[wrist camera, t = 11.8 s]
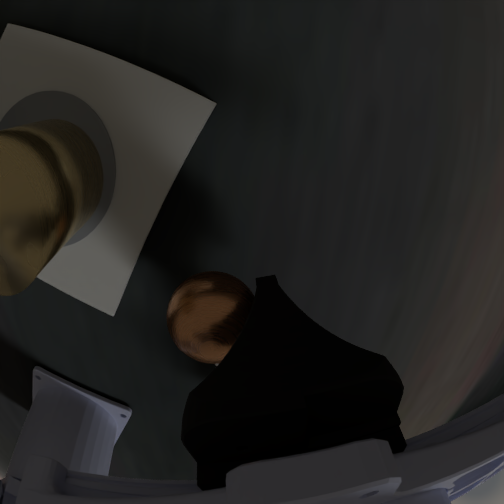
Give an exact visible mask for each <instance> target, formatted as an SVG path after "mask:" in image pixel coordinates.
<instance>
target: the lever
mask: <svg viewBox="0 0 504 504" xmlns="http://www.w3.org/2000/svg"><path fill="white" fill-rule="evenodd" d="M253 300H254V295H253V293H252V292H251V290H250V289H249V288H248V287H247V286H246V285H245V284H244V283H243V282H242V281H241V280H239V279H238V278H236V277H234V276H232V275H230V274H227V273H223V272H218V271H207V272H202V273H198V274H196V275H193V276H191V277H189V278H188V279H186V280H185V281H184V282H182V283H181V284H180V285H179V286H178V287H177V288H176V290H175V291H174V293H173V295H172V296H171V299H170V301H169V304H168V308H167V326H168V330H169V333H170V335H171V338H172V339H173V341H174V343H175V344H176V345H177V347H178V348H179V349H180V350H181V351H182V352H183V353H184V354H186V355H187V356H189V357H191V358H192V359H194V360H197V361H200V362H203V363H210V364H215V365H216V366H218V364H219V363H220V362H221V361H222V360H223V358H224V357H225V356H226V354H227V353H228V351H229V350H230V348H231V347H232V345H233V344H234V342H235V341H236V339H237V337H238V336H239V334H240V332H241V330H242V328H243V326H244V324H245V322H246V319H247V317H248V315H249V312H250V310H251V307H252V303H253Z"/></svg>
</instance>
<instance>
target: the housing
mask: <svg viewBox="0 0 504 504" xmlns="http://www.w3.org/2000/svg"><path fill="white" fill-rule="evenodd" d="M103 181H104V180H103V168H102V163H101V159H100V156H99V153H98V151H97V148H96V147H95V145H94V143H93V141H92V140H91V139H90V137H89V136H88V135H87V134H86V133H85V132H84V131H83V130H82V129H81V128H80V127H78V126H77V125H75V124H73V123H71V122H69V121H66V120H61V119H48V120H43V121H38V122H33V123H29V124H24V125H20V126H16V127H12V128H8V129H4V130H0V295H2V296H9V295H15V294H17V293H20V292H22V291H23V290H25V289H26V288H27V287H28V286H29V285H30V284H31V283H32V282H33V280H34V279H35V278H36V277H37V276H38V274H39V273H40V272H41V271H42V270H43V269H44V267H45V266H46V265H47V264H48V263H49V262H50V261H51V259H52V258H53V257H54V256H55V255H56V254H57V253H58V252H59V250H60V249H61V248H62V247H63V246H64V245H65V244H66V243H67V242H68V241H69V240H70V239H71V238H72V236H73V235H74V234H75V233H76V232H77V231H78V230H79V229H80V228H81V227H82V226H83V225H84V224H85V223H86V222H87V221H88V220H89V219H90V218H91V216H92V215H93V214H94V212H95V210H96V209H97V207H98V204H99V202H100V199H101V196H102V191H103Z"/></svg>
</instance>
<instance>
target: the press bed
mask: <svg viewBox="0 0 504 504" xmlns="http://www.w3.org/2000/svg"><path fill="white" fill-rule="evenodd" d="M216 104H217V103H215V102H213V101H211V100H209V99H207V98H205V97H203V96H201V95H199V94H197V93H195V92H193V91H191V90H189V89H187V88H185V87H183V86H181V85H178V84H176V83H174V82H172V81H170V80H168V79H166V78H163V77H161V76H159V75H157V74H155V73H152V72H150V71H148V70H145V69H143V68H141V67H138V66H136V65H134V64H131V63H129V62H126V61H124V60H121V59H119V58H116V57H114V56H111V55H109V54H106V53H103V52H101V51H98V50H95V49H93V48H90V47H87V46H84V45H81V44H79V43H76V42H73V41H70V40H67V39H63V38H60V37H57V36H54V35H51V34H47V33H44V32H41V31H37V30H34V29H30V28H26V27H22V26H18V25H14V24H9V23H8V24H7V26H6V29H5V31H4V33H3V35H2V37H1V39H0V130H4V129H8V128H12V127H16V126H20V125H24V124H29V123H33V122H38V121H43V120H48V119H61V120H66V121H69V122H71V123H73V124H75V125H77V126H78V127H80V128H81V129H82V130H83V131H84V132H85V133H86V134H87V135H88V136H89V137H90V139H91V140H92V141H93V143H94V145H95V147H96V148H97V151H98V153H99V156H100V159H101V163H102V168H103V180H104V181H103V191H102V196H101V199H100V202H99V204H98V207H97V209H96V210H95V212H94V214H93V215H92V216H91V218H90V219H89V220H88V221H87V222H86V223H85V224H84V225H83V226H82V227H81V228H80V229H79V230H78V231H77V232H76V233H75V234H74V235H73V236H72V238H71V239H70V240H69V241H68V242H67V243H66V244H65V245H64V246H63V247H62V248H61V249H60V250H59V252H58V253H57V254H56V255H55V256H54V257H53V258H52V259H51V261H50V262H49V263H48V264H47V265H46V266H45V267H44V269H43V270H42V271H41V272H40V273H39V274H38V276H37V277H38V278H39V279H41V280H43V281H45V282H47V283H48V284H50V285H52V286H54V287H56V288H58V289H59V290H61V291H63V292H65V293H67V294H69V295H71V296H73V297H75V298H77V299H79V300H81V301H83V302H85V303H87V304H89V305H91V306H93V307H95V308H97V309H99V310H101V311H103V312H105V313H107V314H109V315H111V316H114V314H115V312H116V310H117V307H118V305H119V303H120V300H121V298H122V295H123V293H124V290H125V288H126V285H127V283H128V280H129V278H130V275H131V273H132V271H133V268H134V266H135V264H136V261H137V259H138V257H139V254H140V252H141V250H142V247H143V245H144V243H145V241H146V238H147V236H148V234H149V232H150V230H151V228H152V225H153V223H154V221H155V219H156V217H157V215H158V213H159V211H160V208H161V206H162V204H163V202H164V200H165V198H166V196H167V194H168V192H169V190H170V188H171V186H172V184H173V182H174V180H175V178H176V176H177V174H178V172H179V171H180V169H181V167H182V165H183V163H184V161H185V159H186V157H187V155H188V154H189V152H190V150H191V148H192V146H193V144H194V143H195V141H196V139H197V137H198V135H199V134H200V132H201V130H202V128H203V127H204V125H205V123H206V121H207V120H208V118H209V116H210V114H211V113H212V111H213V109H214V108H215V106H216Z"/></svg>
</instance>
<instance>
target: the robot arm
mask: <svg viewBox="0 0 504 504" xmlns="http://www.w3.org/2000/svg"><path fill="white" fill-rule="evenodd" d="M256 285H257V288H256V293H255V297H254V300H253V303H252V307H251V310H250V312H249V315H248V317H247V319H246V322H245V324H244V326H243V328H242V330H241V332H240V334H239V336H238V337H237V339H236V341H235V342H234V344H233V345H232V347H231V348H230V350H229V351H228V353H227V354H226V356H225V357H224V358H223V360H222V361H221V362H220V363H219V364H218V366H217V367H216V368H215V369H214V370H213V371H212V372H211V374H210V375H209V376H208V377H207V378H206V379H205V380H204V381H202V382H201V383H200V384H199V385H198V386H197V387H196V388H195V389H194V390H192V391H191V392H190V393H189V396H188V399H187V402H186V405H185V409H184V413H183V419H182V432H181V440H182V442H183V445H184V446H185V448H186V449H187V450H188V451H189V453H190V454H191V455H192V457H193V458H194V459H195V461H196V462H197V480H152V479H135V478H123V477H113V476H108V473H109V467H110V462H111V457H112V452H113V447H114V445H115V443H116V441H117V439H118V437H119V436H120V434H121V432H122V430H123V429H124V427H125V425H126V423H127V421H128V420H129V418H130V416H131V413H132V410H131V409H130V408H129V407H127V406H125V405H122V404H120V403H117V402H115V401H112V400H110V399H107V398H105V397H102V396H100V395H98V394H95V393H93V392H91V391H88V390H86V389H84V388H82V387H80V386H77V385H75V384H73V383H71V382H69V381H67V380H65V379H63V378H61V377H59V376H57V375H55V374H53V373H51V372H49V371H47V370H45V369H43V368H41V367H39V366H35V367H34V369H33V386H32V406H31V408H30V410H29V413H28V415H27V418H26V420H25V423H24V425H23V428H22V430H21V433H20V436H19V438H18V441H17V444H16V446H15V449H14V452H13V455H12V458H11V461H10V464H9V467H8V470H7V473H6V477H5V478H3V479H1V480H0V504H451V501H453V500H455V499H457V498H458V497H460V496H462V495H464V494H465V493H467V492H469V491H470V490H472V489H474V488H475V487H477V486H479V485H480V484H482V483H483V482H485V481H486V480H488V479H489V478H491V477H492V476H494V475H495V474H497V473H498V472H500V471H501V470H503V469H504V394H502V395H500V396H499V397H497V398H495V399H493V400H492V401H490V402H488V403H486V404H484V405H482V406H481V407H479V408H477V409H475V410H473V411H471V412H469V413H467V414H465V415H463V416H461V417H459V418H457V419H455V420H453V421H450V422H448V423H446V424H444V425H442V426H439V427H437V428H435V429H432V430H430V431H427V432H425V433H423V434H420V435H418V436H415V437H412V438H410V439H407V440H405V439H404V436H403V434H402V432H401V429H400V427H399V425H400V424H401V421H400V418H399V416H398V414H397V410H398V407H399V404H400V401H401V398H402V395H403V390H404V386H403V384H402V381H401V379H400V377H399V375H398V373H397V372H396V370H395V369H394V368H393V366H392V365H391V364H390V362H389V361H388V360H387V358H386V357H385V356H383V355H380V354H377V353H374V352H371V351H368V350H365V349H362V348H360V347H357V346H355V345H353V344H351V343H348V342H346V341H344V340H343V339H341V338H339V337H337V336H335V335H334V334H332V333H330V332H329V331H327V330H326V329H324V328H323V327H321V326H320V325H319V324H317V323H316V322H314V321H313V320H312V319H311V318H310V317H308V316H307V315H306V314H305V313H304V312H303V311H302V310H301V309H299V308H298V307H297V306H296V305H295V304H294V302H293V301H292V300H291V299H290V298H289V297H288V296H287V295H286V294H285V292H284V291H283V290H282V289H281V287H280V286H279V285H278V282H277V279H276V276H275V275H271V276H266V277H260V278H256Z"/></svg>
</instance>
